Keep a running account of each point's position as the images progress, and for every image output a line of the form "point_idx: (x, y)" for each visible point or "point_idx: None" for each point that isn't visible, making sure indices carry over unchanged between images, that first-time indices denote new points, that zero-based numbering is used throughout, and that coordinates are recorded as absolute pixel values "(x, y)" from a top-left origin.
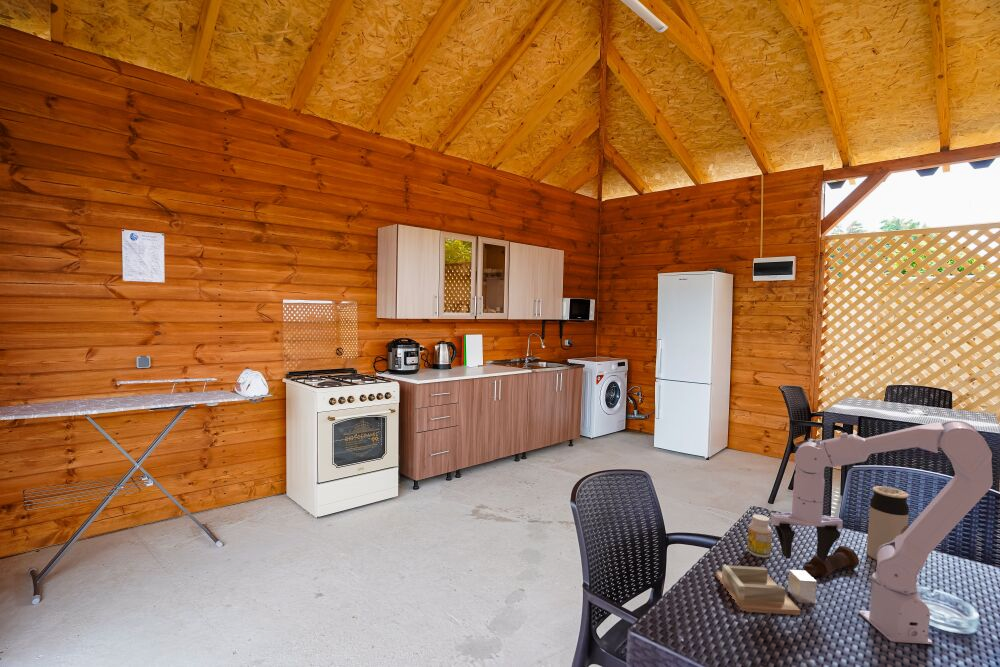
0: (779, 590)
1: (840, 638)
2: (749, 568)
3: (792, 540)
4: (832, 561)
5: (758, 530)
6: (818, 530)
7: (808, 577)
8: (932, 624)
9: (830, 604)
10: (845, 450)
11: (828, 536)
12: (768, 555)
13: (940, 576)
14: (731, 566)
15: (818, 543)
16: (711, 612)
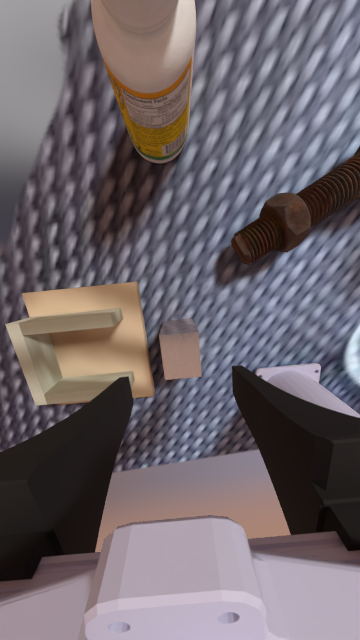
0: None
1: (188, 430)
2: (69, 327)
3: (107, 489)
4: (324, 213)
5: (122, 74)
6: (290, 437)
7: (190, 363)
8: (356, 375)
9: (222, 351)
10: None
11: (288, 522)
12: (176, 154)
13: None
14: (26, 327)
15: (253, 393)
16: (17, 409)
